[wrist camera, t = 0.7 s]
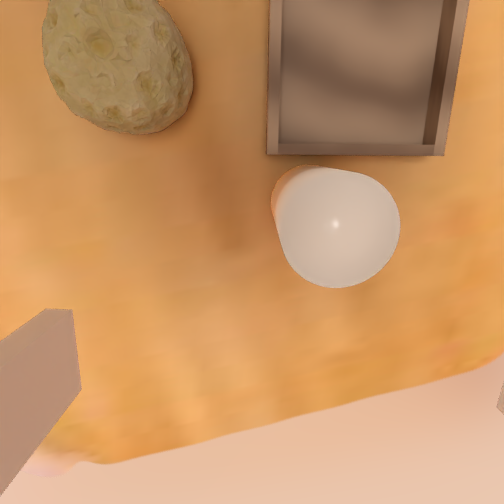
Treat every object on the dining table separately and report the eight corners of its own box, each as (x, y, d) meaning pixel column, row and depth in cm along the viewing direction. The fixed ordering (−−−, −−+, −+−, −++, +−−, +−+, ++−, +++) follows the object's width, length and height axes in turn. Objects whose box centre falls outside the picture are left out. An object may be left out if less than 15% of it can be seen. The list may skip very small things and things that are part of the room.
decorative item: (207, 93, 30) (217, -26, 21) (165, 179, 27) (155, 81, 17) (107, 53, 30) (72, -89, 20) (50, 136, 26) (-24, 10, 17)
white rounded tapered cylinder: (271, 164, 28) (282, 170, 17) (346, 164, 28) (408, 171, 17) (270, 236, 30) (278, 287, 19) (340, 237, 30) (392, 288, 19)
